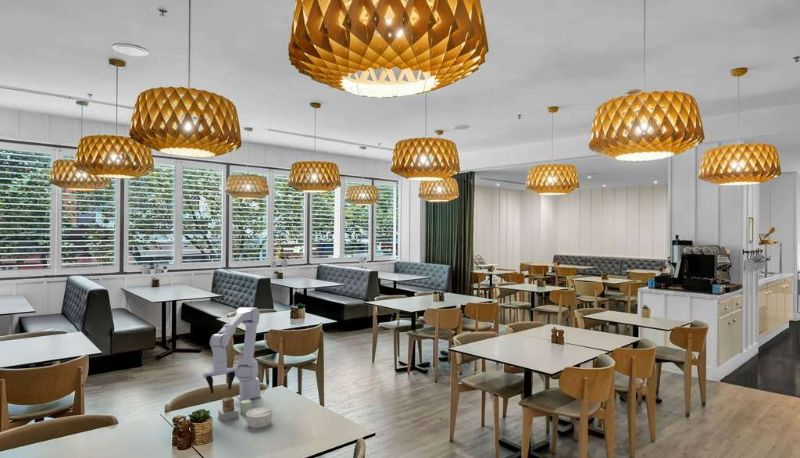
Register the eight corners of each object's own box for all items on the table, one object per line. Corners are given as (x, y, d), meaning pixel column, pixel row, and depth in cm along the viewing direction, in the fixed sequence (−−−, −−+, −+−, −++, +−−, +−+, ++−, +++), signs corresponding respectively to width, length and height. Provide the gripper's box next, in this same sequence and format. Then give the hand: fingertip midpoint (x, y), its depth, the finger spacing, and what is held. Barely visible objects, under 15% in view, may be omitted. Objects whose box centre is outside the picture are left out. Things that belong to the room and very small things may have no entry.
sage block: (249, 410, 226) (249, 399, 226) (251, 412, 222) (251, 401, 222) (240, 412, 223) (240, 401, 223) (242, 414, 220) (242, 403, 220)
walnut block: (231, 407, 220) (231, 396, 220) (234, 410, 217) (233, 399, 217) (222, 409, 218) (222, 398, 218) (224, 412, 215) (224, 401, 215)
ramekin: (265, 430, 202) (265, 417, 202) (240, 428, 205) (240, 416, 205) (277, 419, 213) (277, 407, 213) (253, 418, 216) (253, 406, 216)
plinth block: (234, 412, 223) (234, 406, 223) (238, 417, 217) (238, 410, 217) (218, 416, 219) (218, 409, 219) (222, 421, 213) (222, 414, 213)
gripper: (204, 365, 214) (205, 396, 215) (238, 359, 222) (239, 389, 223) (201, 362, 220) (202, 392, 220) (234, 356, 228) (235, 385, 228)
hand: (220, 390), depth 222 cm, fingers open, 7 cm apart
